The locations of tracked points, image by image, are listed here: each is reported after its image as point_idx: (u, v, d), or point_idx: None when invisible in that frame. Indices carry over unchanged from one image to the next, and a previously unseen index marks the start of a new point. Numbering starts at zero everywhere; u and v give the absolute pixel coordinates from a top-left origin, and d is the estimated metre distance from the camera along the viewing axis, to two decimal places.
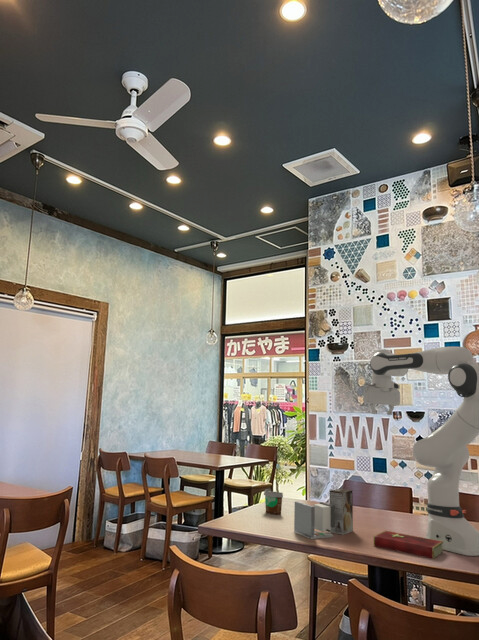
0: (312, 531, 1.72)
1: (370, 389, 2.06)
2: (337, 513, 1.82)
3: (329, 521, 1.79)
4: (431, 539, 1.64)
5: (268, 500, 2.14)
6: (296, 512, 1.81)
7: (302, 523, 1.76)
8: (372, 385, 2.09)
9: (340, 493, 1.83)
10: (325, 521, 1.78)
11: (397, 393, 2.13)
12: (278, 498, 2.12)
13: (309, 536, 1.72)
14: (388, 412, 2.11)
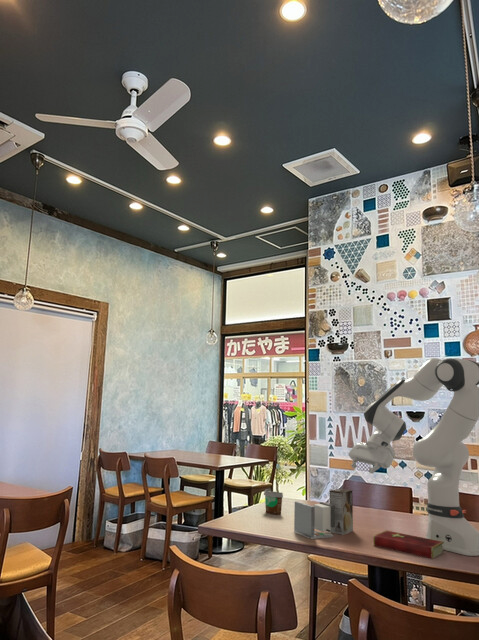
0: (312, 531, 1.72)
1: (356, 444, 2.07)
2: (337, 513, 1.82)
3: (329, 521, 1.79)
4: (432, 539, 1.64)
5: (268, 500, 2.14)
6: (296, 512, 1.81)
7: (302, 523, 1.76)
8: (364, 444, 2.07)
9: (340, 493, 1.83)
10: (325, 521, 1.78)
11: (385, 452, 1.94)
12: (278, 498, 2.12)
13: (309, 536, 1.72)
14: None
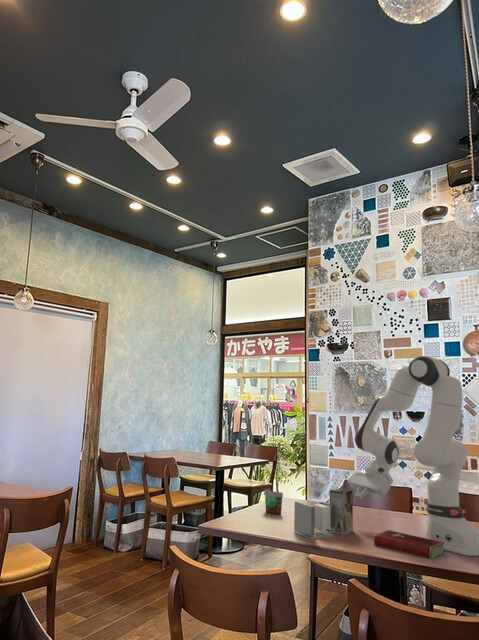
0: (312, 531, 1.72)
1: None
2: (337, 513, 1.82)
3: (329, 521, 1.79)
4: (432, 540, 1.64)
5: (268, 500, 2.14)
6: (296, 512, 1.81)
7: (302, 523, 1.76)
8: (363, 471, 2.03)
9: (340, 493, 1.83)
10: (325, 521, 1.78)
11: (381, 478, 1.90)
12: (278, 498, 2.12)
13: (309, 536, 1.72)
14: None
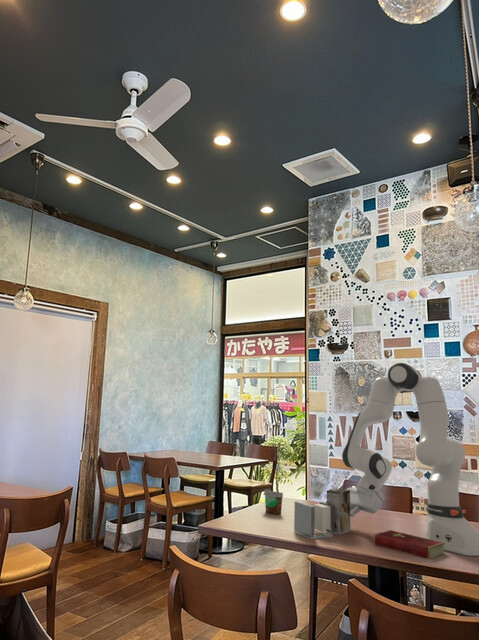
0: (312, 531, 1.72)
1: (347, 489, 2.00)
2: None
3: (329, 521, 1.79)
4: (433, 540, 1.63)
5: (268, 500, 2.14)
6: (296, 512, 1.81)
7: (302, 523, 1.76)
8: (355, 488, 1.99)
9: (337, 493, 1.83)
10: (325, 521, 1.78)
11: (372, 496, 1.85)
12: (278, 498, 2.12)
13: (309, 536, 1.72)
14: None
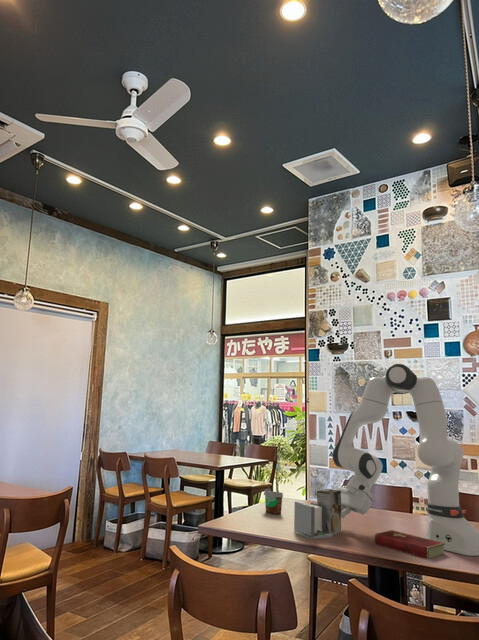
0: (312, 531, 1.72)
1: None
2: None
3: (320, 522, 1.77)
4: (433, 540, 1.63)
5: (268, 500, 2.14)
6: (296, 512, 1.81)
7: (302, 523, 1.76)
8: (345, 488, 1.97)
9: (327, 493, 1.81)
10: (316, 521, 1.76)
11: (362, 496, 1.83)
12: (278, 498, 2.12)
13: (309, 536, 1.72)
14: None
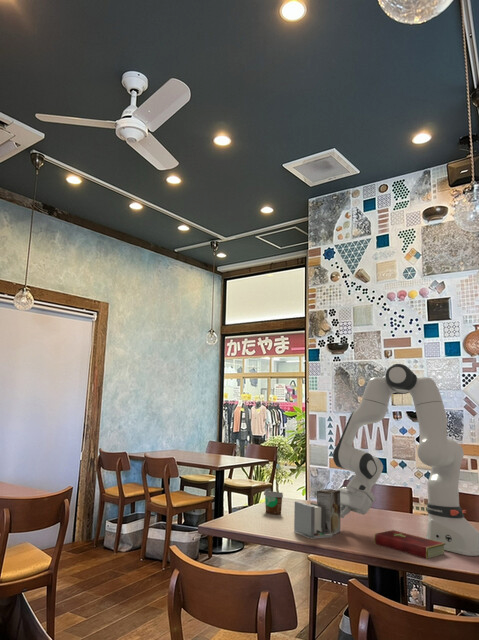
0: (312, 531, 1.72)
1: (338, 489, 1.98)
2: (325, 514, 1.80)
3: (320, 522, 1.77)
4: None
5: (268, 500, 2.14)
6: (296, 512, 1.81)
7: (302, 523, 1.76)
8: (346, 488, 1.97)
9: (328, 493, 1.81)
10: (316, 521, 1.76)
11: (362, 496, 1.83)
12: (278, 498, 2.12)
13: (309, 536, 1.72)
14: None
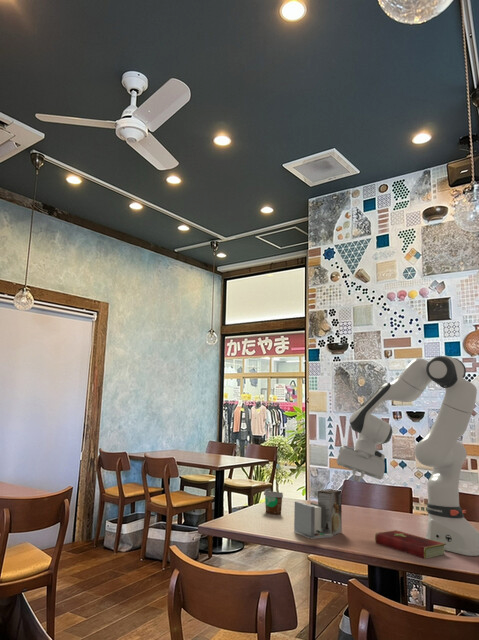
0: (312, 531, 1.72)
1: (343, 449, 2.00)
2: (325, 514, 1.80)
3: (320, 522, 1.77)
4: (434, 541, 1.62)
5: (268, 500, 2.14)
6: (296, 512, 1.81)
7: (302, 523, 1.76)
8: (350, 448, 2.02)
9: (328, 494, 1.81)
10: (316, 521, 1.76)
11: (380, 463, 1.94)
12: (278, 498, 2.12)
13: (309, 536, 1.72)
14: None
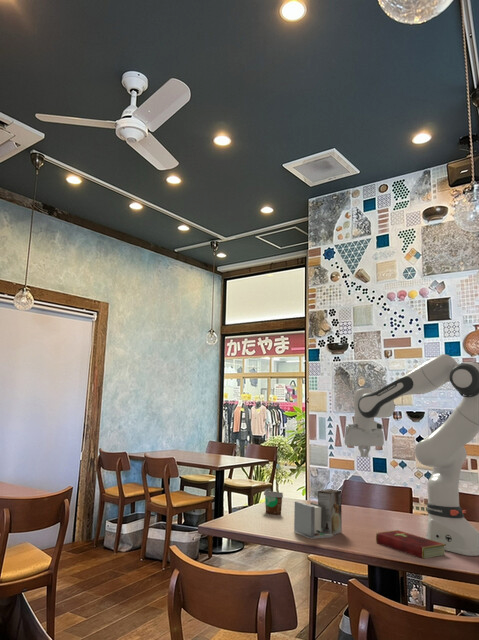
0: (312, 531, 1.72)
1: (351, 431, 1.96)
2: (325, 514, 1.80)
3: (320, 522, 1.77)
4: (435, 541, 1.62)
5: (268, 500, 2.14)
6: (296, 512, 1.81)
7: (302, 523, 1.76)
8: (354, 426, 1.99)
9: (328, 493, 1.81)
10: (316, 521, 1.76)
11: (380, 433, 2.03)
12: (278, 498, 2.12)
13: (309, 536, 1.72)
14: None
